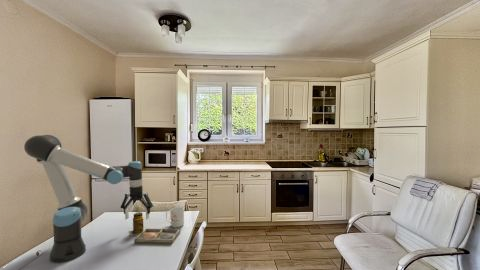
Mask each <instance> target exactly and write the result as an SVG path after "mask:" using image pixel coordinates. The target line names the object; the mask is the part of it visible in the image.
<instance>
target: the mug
mask: <svg viewBox="0 0 480 270" xmlns="http://www.w3.org/2000/svg"><path fill="white" fill-rule="evenodd" d="M184 210H185V208H183V207H182V206H177V207H176V206H175V207H172V208H171V209H170V210H167V211H165V220H166V221H167V222H168V223H169V224H170V226H171V227H172V228H173V229H179V228H181V227H182V226H183V225H184V224H185V211H184ZM168 213H169V217H170V220H169V219H168Z"/></svg>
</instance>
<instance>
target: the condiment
mask: <svg viewBox="0 0 480 270" xmlns="http://www.w3.org/2000/svg"><path fill="white" fill-rule="evenodd" d="M132 218H133V219H132V230H129V231H128V233H129V235H130V236H131V237H132V236H136V235H137V236H138V235H140V234H141V233H142V232H143V231H144V230H145V229H144V217H143V212H140V211H138V212H135V213H133V217H132Z"/></svg>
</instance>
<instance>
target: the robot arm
mask: <svg viewBox="0 0 480 270" xmlns="http://www.w3.org/2000/svg"><path fill="white" fill-rule="evenodd" d="M23 149H24V152H25V154H27V155H28V156H29V157H31V158H33V159H36V162H37V163H38V164H41V165H42V166H43V168H44V171H45V173H46V176H47V178H48V180H49V182H50V186H51V188H52V191H53V192H54V196H55V197H56V199H57V202H58V205H57V207H56V209H57V211H56V212H54V214H53V217H52V224H53V225H52V228H53V229H52V230H53V231H52V232H53V245H52V248H51V251H50V254H49V261H50V262H52V263H64V262H65V263H66V262H68V261H72V260H75V259H77V258H79V257H81V256H82V255H83V254H85V253H86V250H87V248H86V247H87V246H86V244H85V242H84V240H83V237H82V223H83V222H84V220H85V219H86V217H87V216H88V213H89V209H88V207H87V205H86V203H84V201H83V200H82V197H79V196H77V192H75V188H74V187H73V186H74V185H73V184H72V182H71V179H70V176H69V173H68V171H67V169H66V167H67V168H70V169H73V170H76V171H79V172H81V173H85V174H88V175H90V176H93V177H96V178H99V179H102V180H105V181H106V182H108V183H109V184H111V185H118V184H120V183H121V181H123V179H124V178H128V181H129V182H128V184H129V192H127V193H125V194H124V198H123V200H122V202H121V205H120V209H122V210H123V214H124V219H125V221H126V220H129V218H130V217H129V215H130V214H129V208H128V207H129V206H130V205H131V203H132V202H135V201H138V202H141V204H142V205H143V206H144V207H145V220H149V218H150V214H151V208H153V207H154V205H153V202H152V200H151V199H150V197H149V193H148V192H145V193H143V189H144V188H143V168H142V162H141V161H139V160H135V161H130V162H128V164H126V165H115V166H109V165H107V164H104V163H102V162H98V161H97V160H93V159H90V158H89V157H87V156H84V155H80V154H77V153H74V152H72V151H69V150H67V149H64V148H63V146H62V142H61V140H60V139H59V138H58V137H56V136H54V135H51V134H43V135H34V136H31V137H30V138H28V139H27V140H26V141H25V143H24V145H23ZM129 197H130V199H129Z"/></svg>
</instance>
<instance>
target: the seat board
mask: <svg viewBox="0 0 480 270" xmlns="http://www.w3.org/2000/svg"><path fill="white" fill-rule="evenodd" d="M143 230H144V231H143V232H142V233H141V234H138V235H137V236H136V237H135V238H134V244H146V245H147V244H148V245H149V244H150V245H151V244H154V245H172V244H173V243H174V242H175V240H176V239H177V238H178V237H179V235H180V233H181V228H145V229H143Z"/></svg>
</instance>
